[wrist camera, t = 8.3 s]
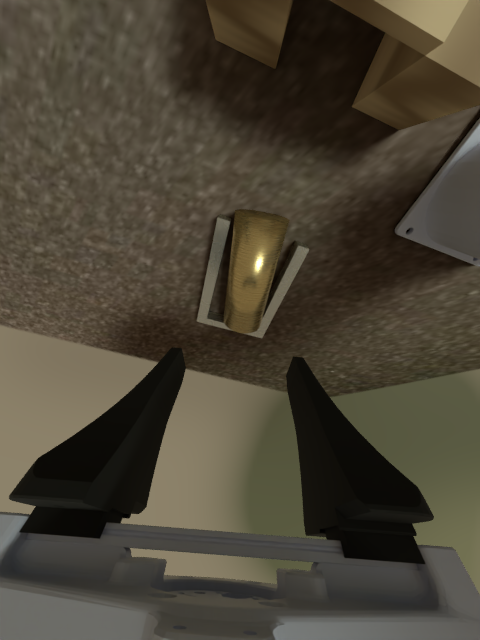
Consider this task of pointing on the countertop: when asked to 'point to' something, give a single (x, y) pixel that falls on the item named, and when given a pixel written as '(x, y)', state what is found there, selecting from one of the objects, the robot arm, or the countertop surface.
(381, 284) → the countertop surface
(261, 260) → the axle
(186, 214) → the countertop surface
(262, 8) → the wooden stepped block
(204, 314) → the cradle
